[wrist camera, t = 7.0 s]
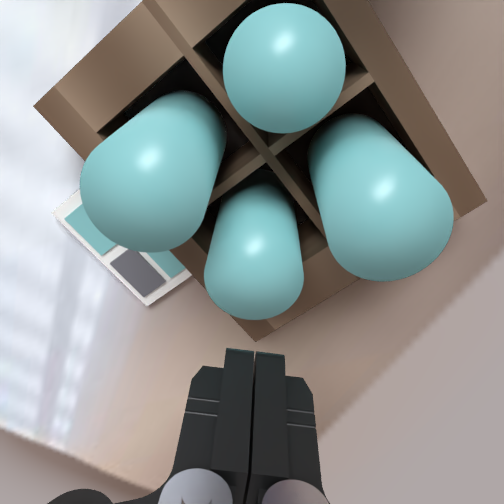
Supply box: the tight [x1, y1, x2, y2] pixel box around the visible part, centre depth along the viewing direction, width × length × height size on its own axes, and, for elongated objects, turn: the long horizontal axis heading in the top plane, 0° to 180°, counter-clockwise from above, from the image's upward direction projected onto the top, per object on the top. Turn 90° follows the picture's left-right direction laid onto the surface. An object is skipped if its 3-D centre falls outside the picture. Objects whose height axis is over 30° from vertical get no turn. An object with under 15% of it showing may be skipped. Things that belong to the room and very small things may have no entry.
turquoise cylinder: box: [307, 113, 454, 281], centre depth 17 cm, size 4×4×8 cm
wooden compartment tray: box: [33, 0, 487, 342], centre depth 21 cm, size 12×14×4 cm
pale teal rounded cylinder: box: [80, 90, 227, 253], centre depth 17 cm, size 4×4×8 cm
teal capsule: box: [223, 3, 346, 133], centre depth 17 cm, size 4×4×8 cm
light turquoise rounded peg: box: [204, 169, 304, 320], centre depth 21 cm, size 4×4×8 cm
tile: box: [52, 189, 192, 306], centre depth 25 cm, size 4×7×1 cm, turn 38°
